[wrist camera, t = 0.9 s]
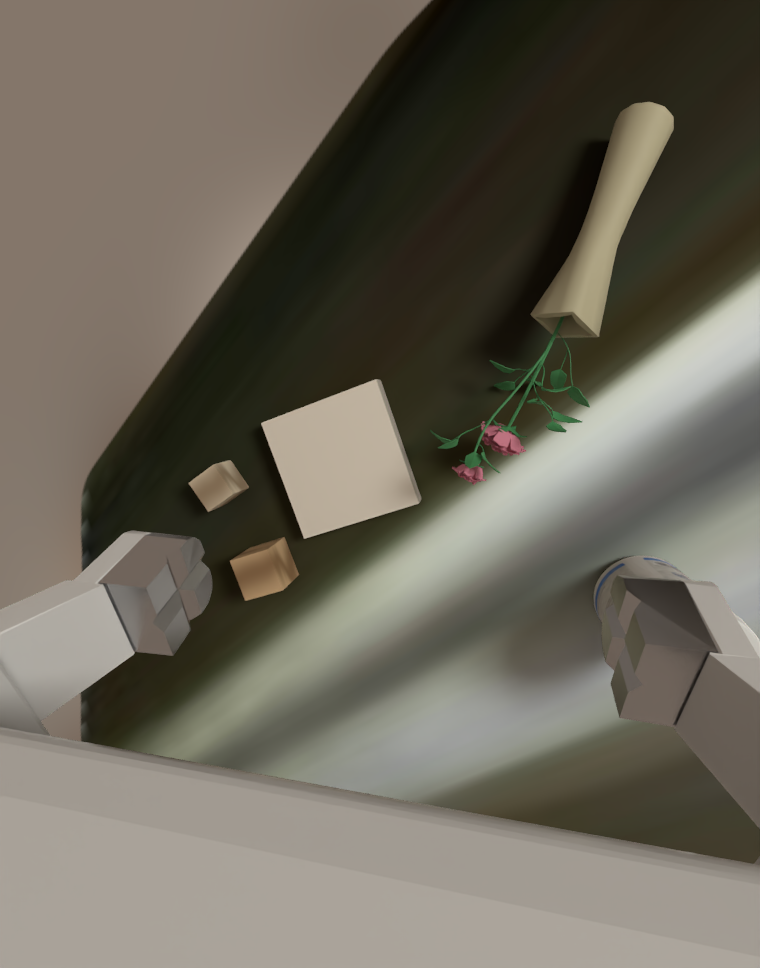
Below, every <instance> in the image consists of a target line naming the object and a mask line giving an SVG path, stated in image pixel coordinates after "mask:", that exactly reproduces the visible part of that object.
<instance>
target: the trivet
mask: <svg viewBox="0 0 760 968" xmlns="http://www.w3.org/2000/svg"><path fill="white" fill-rule="evenodd" d="M261 424H262V427H263V430H264V432H265V435H266V438H267V440H268V443H269V446H270V448H271V451H272V454H273V457H274V459H275V462H276V465H277V467H278V470H279V473H280V475H281V478H282V481H283V483H284V486H285V489H286V491H287V494H288V497H289V499H290V502H291V505H292V507H293V510H294V513H295V515H296V518H297V521H298V523H299V526H300V529H301V531H302V534H303V537H304V539H305V538H308V537H312V536H315V535H318V534H321V533H325V532H328V531H331V530H334V529H338V528H341V527H344V526H347V525H351V524H354V523H357V522H360V521H364V520H367V519H370V518H373V517H377V516H380V515H383V514H386V513H390V512H393V511H396V510H399V509H403V508H406V507H409V506H412V505H416V504H419V502H420V501H421V496H420V493H419V490H418V487H417V484H416V482H415V479H414V476H413V473H412V470H411V467H410V464H409V461H408V458H407V455H406V452H405V450H404V447H403V444H402V441H401V438H400V435H399V432H398V429H397V426H396V423H395V420H394V418H393V415H392V412H391V409H390V406H389V403H388V400H387V397H386V394H385V391H384V389H383V386H382V383H381V380H377V379H376V380H373V381H370V382H368V383H365V384H362V385H360V386H357V387H355V388H352V389H349V390H347V391H344V392H341V393H339V394H336V395H334V396H331V397H328V398H326V399H323V400H320V401H318V402H315V403H313V404H310V405H307V406H305V407H302V408H299V409H297V410H294V411H292V412H289V413H286V414H284V415H281V416H278V417H276V418H273V419H271V420H268V421H265V422H263V423H261Z"/></svg>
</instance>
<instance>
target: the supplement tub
mask: <svg viewBox="0 0 760 968" xmlns="http://www.w3.org/2000/svg"><path fill="white" fill-rule="evenodd" d="M617 575H623V576H635V577H647V578H659V579H671V580H691V579H690V578H688V577H687V576H686V575H685V574H683V573H682V572H681V571H680V570H678V569H677V568H676V567H674V566H673V565H672V564H670V563H669V562H667V561H665V560H662V559H660V558H656V557H652V556H632V557H628V558H624V559H622V560H620V561H618V562H616V563H614V564H613V565H611V566H610V567H609V568H607V569H606V570H605V571H604V572H603V574H602V575H601V576H600V578H599V579H598V581H597V583H596V586H595V589H594V596H593V601H594V608H595V611H596V614H597V616H598V618H599V619H600V621H601V623H602V621H603V617H604V613H605V609H607V608H608V607H610V606H611V605H612V604H614V603H613V599H612V596H611V593H610V591H611V587H612V584H613V581H614V579H615V578H616V576H617ZM733 614H734V613H733ZM734 615H735V617H736V619H737V621H738V622H739V624H740V626H741V627H742V629H743V631H744V633H745V634H746V636H747V638H748V639H749V641H750V643H751V644H752V646H753V648H754V650H755V651H756V653H757V655H758V656H759V658H760V640H759V638H758V637H757V636H756V634H755V633H754V632H753V631H752V630H751V629H750V628H749V627H748V625H747V624H746V623H745V622H744V621H743V620H742V619H741V618H739V617H738V616H737V615H736V614H734Z"/></svg>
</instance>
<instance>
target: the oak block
mask: <svg viewBox="0 0 760 968" xmlns="http://www.w3.org/2000/svg"><path fill="white" fill-rule="evenodd" d="M230 563H231V566H232V568H233V571H234V573H235V576H236V578H237V581H238V583H239V586H240V588H241V591H242V593H243V596H244V599H245V601H247V600H250V599H254V598H257V597H261V596H264V595H268V594H271V593H275V592H278V591H282V590H284V589H285V588H286V587H287V586H288V585H289V584H290V583H291V582H292V581H293V580H294V579H295V578H296V577H297V576H298V575H299V574H298V571H297V569H296V566H295V563H294V561H293V558H292V555H291V553H290V550H289V547H288V545H287V542H286V540H285V537H283V538H280V539H276V540H273V541H270V542H267V543H264V544H260V545H257V546H254V547H251V548H248V549H247V550H245V551H244V552H242V553H241V554H239V555H238V556H236V557H235V558H233V559H232V560H230Z"/></svg>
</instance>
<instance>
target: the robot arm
mask: <svg viewBox="0 0 760 968" xmlns="http://www.w3.org/2000/svg"><path fill="white" fill-rule="evenodd" d="M203 555H204V550H203V547H202V544H201V541H200V540H198V539H196V538H194V537H187V536H178V535H169V534H160V533H148V532H139V531H129V532H126V533H123V534H122V535H121V536H120V537H119V538H118V539H117V540H116V541H115V542H114V543H113V544H112V545H111V546H109V547H108V548H107V549H106V550H105V551H104V552H103V553H102V554H101V555H100V556H99V557H98V558H97V559H96V560H95V561H94V562H92V563H91V564H90V565H89V566H88V567H87V568H86V569H85V570H84V571H83V572H82V573H81V574H80V575H79V576H78V577H77V578H76V579H74V580H73V581H69V580H66V581H63V582H61V583H59V584H57V585H54V586H52V587H50V588H48V589H46V590H43V591H41V592H39V593H37V594H34V595H32V596H30V597H27V598H25V599H23V600H21V601H19V602H16V603H14V604H12V605H10V606H7V607H5V608H3V609H1V610H0V968H760V857H759V858H758V860H757V861H756V862H755V863H754V864H750V863H745V862H739V861H734V860H728V859H723V858H717V857H712V856H706V855H701V854H695V853H690V852H684V851H679V850H673V849H668V848H662V847H657V846H651V845H646V844H640V843H635V842H629V841H624V840H618V839H613V838H607V837H602V836H596V835H591V834H585V833H580V832H574V831H569V830H563V829H558V828H552V827H547V826H541V825H536V824H530V823H525V822H519V821H514V820H508V819H503V818H497V817H492V816H486V815H481V814H475V813H470V812H464V811H459V810H453V809H448V808H442V807H437V806H431V805H426V804H420V803H415V802H409V801H404V800H398V799H393V798H388V797H382V796H377V795H371V794H366V793H360V792H355V791H349V790H344V789H338V788H333V787H327V786H322V785H317V784H311V783H306V782H300V781H295V780H289V779H284V778H278V777H273V776H267V775H262V774H256V773H251V772H245V771H240V770H234V769H229V768H223V767H218V766H213V765H207V764H202V763H196V762H191V761H185V760H180V759H174V758H169V757H163V756H158V755H152V754H147V753H141V752H136V751H130V750H125V749H119V748H114V747H108V746H103V745H97V744H92V743H86V742H81V741H75V740H70V739H64V738H59V737H53V736H50V734H49V733H48V731H47V730H46V728H45V727H44V726H43V724H42V723H41V721H42V720H43V719H44V718H46V717H47V716H49V715H50V714H51V713H53V712H54V711H56V710H57V709H58V708H60V707H61V706H63V705H64V704H65V703H67V702H68V701H69V700H71V699H72V698H74V697H75V696H76V695H78V694H79V693H81V692H82V691H83V690H85V689H86V688H88V687H89V686H90V685H92V684H93V683H95V682H96V681H97V680H99V679H100V678H102V677H103V676H104V675H106V674H107V673H108V672H110V671H111V670H113V669H114V668H115V667H117V666H118V665H120V664H121V663H122V662H124V661H125V660H127V659H128V658H129V657H131V656H132V655H134V651H135V652H144V653H153V654H162V655H172V656H173V655H174V654H175V652H176V651H177V649H178V648H179V646H180V645H181V643H182V642H183V640H184V639H185V637H186V636H187V634H188V633H189V631H190V630H191V629H190V622H189V621H190V620H191V619H193V618H195V617H196V616H198V615H200V614H201V613H202V612H203V610H204V609H205V607H206V606H207V604H208V602H209V599H210V595H211V592H212V577H211V573H210V569H209V568H208V567H206V566H205V565H204V564H203V563H202V562H201V561H200V560H201V558H202V557H203ZM610 593H611V596H612V599H613V603H614V604H612V605H611V606H610V607H608V608H607V609H605V613H604V617H603V621H602V634H601V640H602V649H603V654H604V658H605V662H606V663H607V664H608V665H609V666H610V667H611V668H612V669H613V670H614V674H613V677H612V681H611V686H612V690H613V694H614V698H615V702H616V706H617V710H618V714H619V718H624V719H630V720H636V721H642V722H648V723H654V724H660V725H666V726H672V727H675V729H674V730H675V731H676V732H677V733H678V734H679V735H680V737H681V738H682V739H683V740H684V741H685V742H686V744H687V745H688V746H689V747H690V748H691V749H692V751H693V752H694V753H695V754H696V755H697V756H698V758H699V759H700V760H701V761H702V762H703V763H704V764H705V766H706V767H707V768H708V769H709V770H710V771H711V773H712V774H713V775H714V776H715V777H716V778H717V780H718V781H719V782H720V783H721V784H722V785H723V787H724V788H725V789H726V790H727V791H728V792H729V794H730V795H731V796H732V797H733V798H734V799H735V800H736V802H737V803H738V804H739V805H740V806H741V807H742V809H743V810H744V811H745V812H746V813H747V814H748V816H749V817H750V818H751V819H752V820H753V821H754V823H755V824H756V825H757V826H758V827H759V828H760V658H759V656H758V655H757V653H756V651H755V650H754V648H753V646H752V644H751V643H750V641H749V639H748V638H747V636H746V634H745V633H744V631H743V629H742V627H741V626H740V624H739V622H738V621H737V619H736V617H735V615H734V614H733V612H732V610H731V609H730V607H729V605H728V604H727V602H726V600H725V598H724V597H723V595H722V593H721V592H720V590H719V588H718V586H717V585H715V584H714V583H712V582H707V581H693V580H671V579H659V578H647V577H635V576H623V575H617V576H616V578H615V579H614V581H613V584H612V587H611V591H610Z"/></svg>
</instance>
